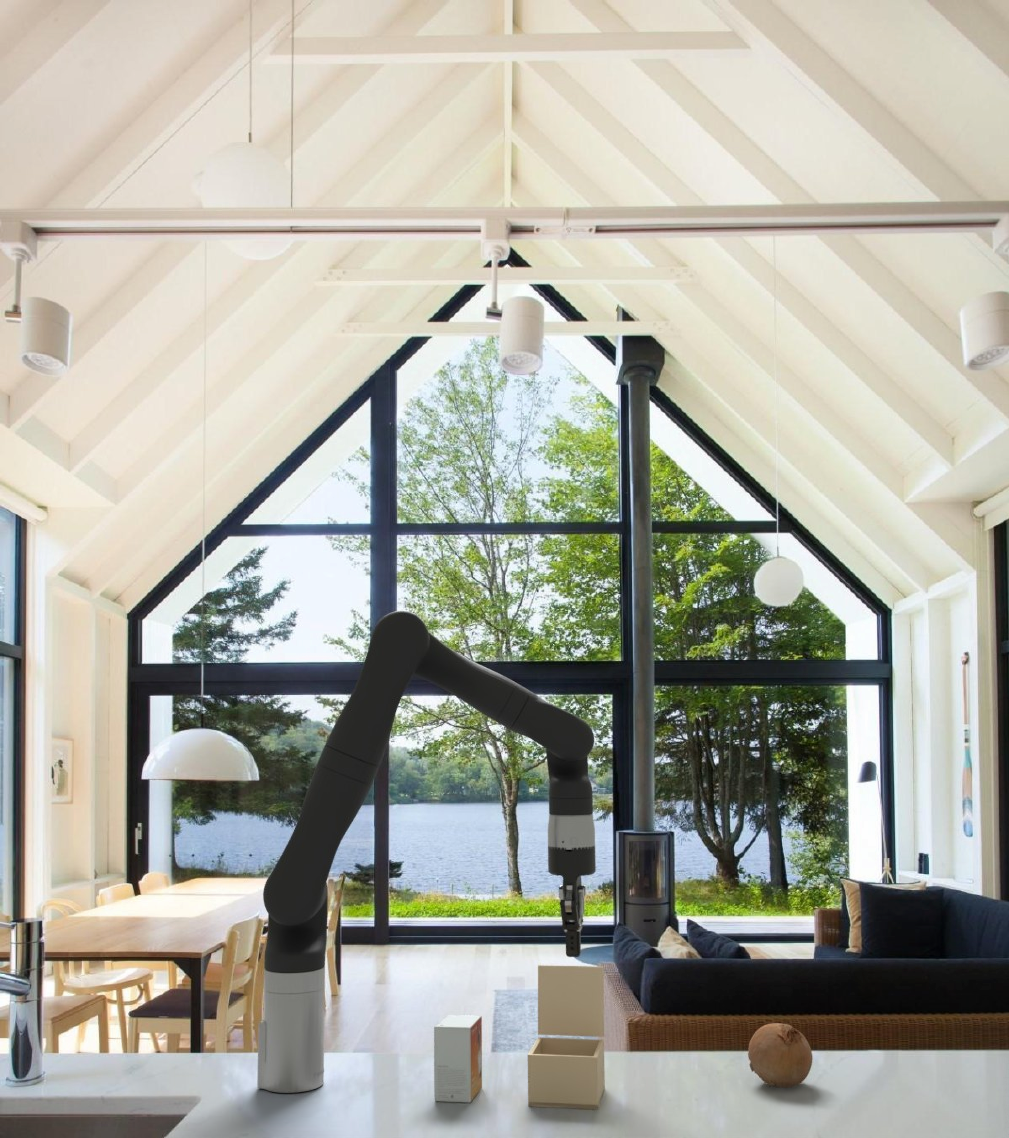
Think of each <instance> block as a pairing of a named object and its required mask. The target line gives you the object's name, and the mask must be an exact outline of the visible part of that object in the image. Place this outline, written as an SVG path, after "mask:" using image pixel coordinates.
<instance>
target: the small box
mask: <svg viewBox="0 0 1009 1138" xmlns="http://www.w3.org/2000/svg"><path fill="white" fill-rule="evenodd" d="M482 1019H483V1016H482V1015H471V1014H470V1015H468V1014H467V1015H465V1014H464V1015H463V1014H462V1015H461V1014H447V1015H446V1016H445V1017H444V1018H443V1019H442V1020H441V1021H440V1022H438V1023H437V1024H436V1025H435V1026H433V1027H434V1028H433V1036H434V1037H433V1041H434V1042H433V1053H434V1055H433V1066H434V1067H433V1070H434V1071H433V1075H434V1076H433V1079H434V1080H433V1088H434V1094H433V1095H434V1096H433V1097H434V1101H435V1102H447V1103H449V1102H450V1103H472V1101H473V1100H474V1099H475V1097H476V1096H477V1095H478V1094H479V1092H480V1091H481V1090H482V1089H483V1075H482V1074H483V1054H482V1053H483V1052H482V1051H483V1046H482V1045H483V1044H482V1043H483V1033H482V1031H483V1030H482V1029H483V1028H482V1027H483V1024H482V1023H483V1020H482Z"/></svg>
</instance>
